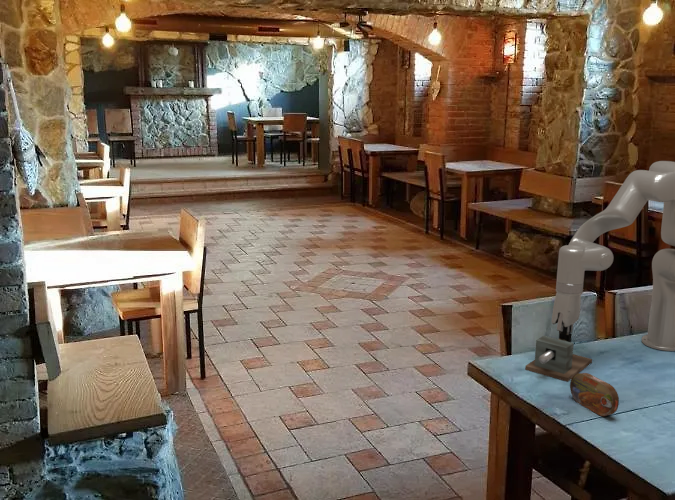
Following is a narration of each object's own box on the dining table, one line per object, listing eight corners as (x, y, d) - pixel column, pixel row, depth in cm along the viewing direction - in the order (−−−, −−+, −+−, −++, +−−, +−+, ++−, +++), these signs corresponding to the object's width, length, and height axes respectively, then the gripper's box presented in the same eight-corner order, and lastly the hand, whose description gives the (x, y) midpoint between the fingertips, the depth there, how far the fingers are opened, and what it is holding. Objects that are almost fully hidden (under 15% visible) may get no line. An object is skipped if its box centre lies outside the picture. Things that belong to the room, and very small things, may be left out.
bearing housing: (551, 351, 214) (553, 324, 212) (591, 362, 206) (594, 334, 204) (525, 369, 201) (527, 340, 199) (567, 381, 193) (570, 351, 191)
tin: (567, 397, 183) (570, 368, 181) (577, 395, 185) (579, 366, 183) (609, 422, 170) (613, 391, 168) (619, 419, 171) (622, 389, 169)
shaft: (553, 352, 205) (554, 336, 204) (569, 356, 202) (570, 340, 200) (533, 365, 195) (535, 349, 194) (550, 370, 192) (551, 353, 191)
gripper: (567, 279, 208) (562, 335, 212) (546, 290, 197) (541, 349, 201) (591, 284, 203) (586, 341, 207) (571, 295, 192) (566, 355, 196)
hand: (564, 345), depth 204 cm, fingers closed
